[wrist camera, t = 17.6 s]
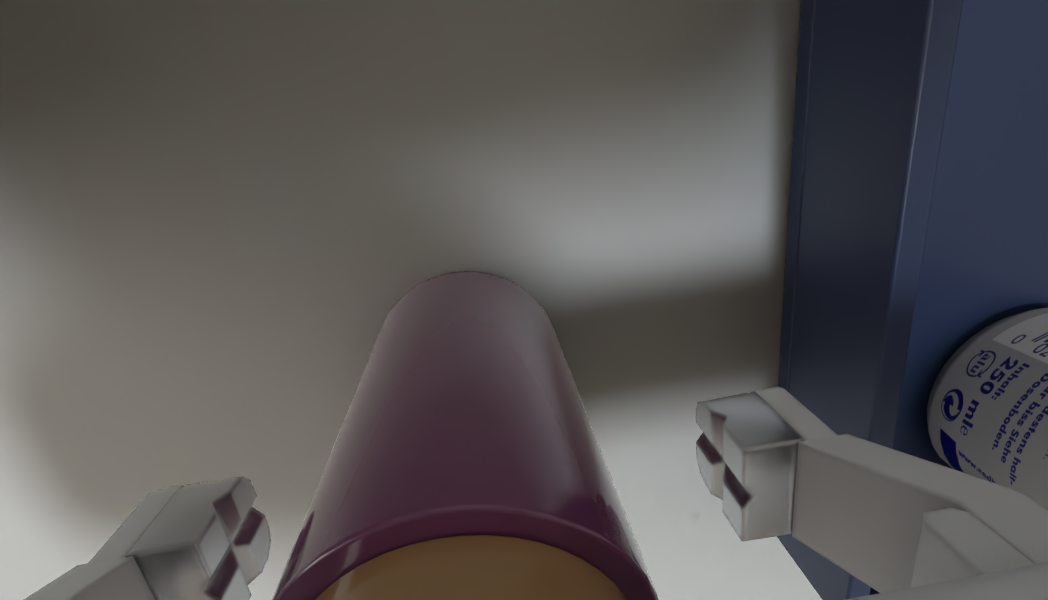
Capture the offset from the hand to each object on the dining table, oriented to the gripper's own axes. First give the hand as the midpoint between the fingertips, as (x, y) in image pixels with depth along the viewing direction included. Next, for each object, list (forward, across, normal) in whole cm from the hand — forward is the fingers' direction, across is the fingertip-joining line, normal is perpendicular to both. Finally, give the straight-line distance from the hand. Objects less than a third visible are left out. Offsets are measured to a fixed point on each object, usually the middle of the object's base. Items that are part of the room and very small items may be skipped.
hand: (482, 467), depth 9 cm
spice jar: (+4, 0, 0) cm, 4 cm away
